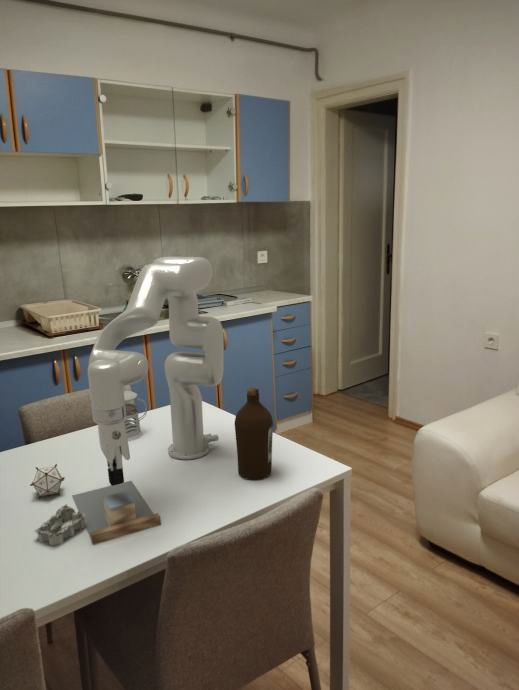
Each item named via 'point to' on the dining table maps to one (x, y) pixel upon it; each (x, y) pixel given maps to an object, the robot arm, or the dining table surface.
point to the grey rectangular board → (94, 504)
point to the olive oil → (254, 438)
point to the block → (119, 508)
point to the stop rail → (125, 528)
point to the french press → (132, 429)
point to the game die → (47, 481)
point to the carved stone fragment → (53, 526)
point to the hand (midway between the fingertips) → (116, 482)
